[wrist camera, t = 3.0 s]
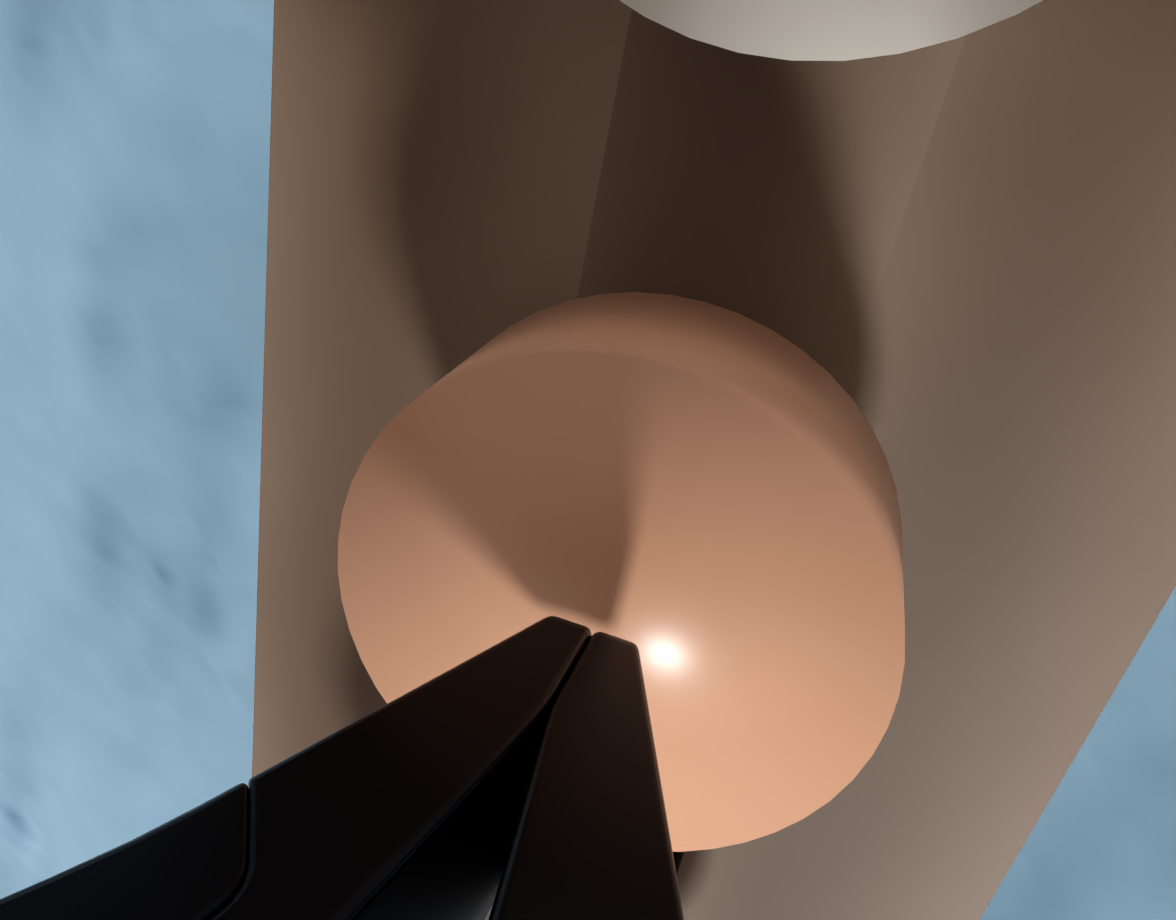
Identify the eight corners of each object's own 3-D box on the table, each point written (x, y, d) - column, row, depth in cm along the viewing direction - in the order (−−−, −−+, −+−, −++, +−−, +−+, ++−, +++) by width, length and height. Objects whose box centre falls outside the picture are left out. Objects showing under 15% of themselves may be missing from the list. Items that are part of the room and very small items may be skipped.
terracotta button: (963, 299, 12) (1009, 461, 7) (825, 648, 14) (799, 923, 10) (541, 190, 13) (357, 276, 8) (485, 537, 15) (322, 742, 11)
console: (1787, -809, 8) (2244, -1233, 5) (833, 1028, 20) (825, 1181, 17) (462, -882, 10) (309, -1214, 7) (324, 826, 22) (247, 936, 19)
